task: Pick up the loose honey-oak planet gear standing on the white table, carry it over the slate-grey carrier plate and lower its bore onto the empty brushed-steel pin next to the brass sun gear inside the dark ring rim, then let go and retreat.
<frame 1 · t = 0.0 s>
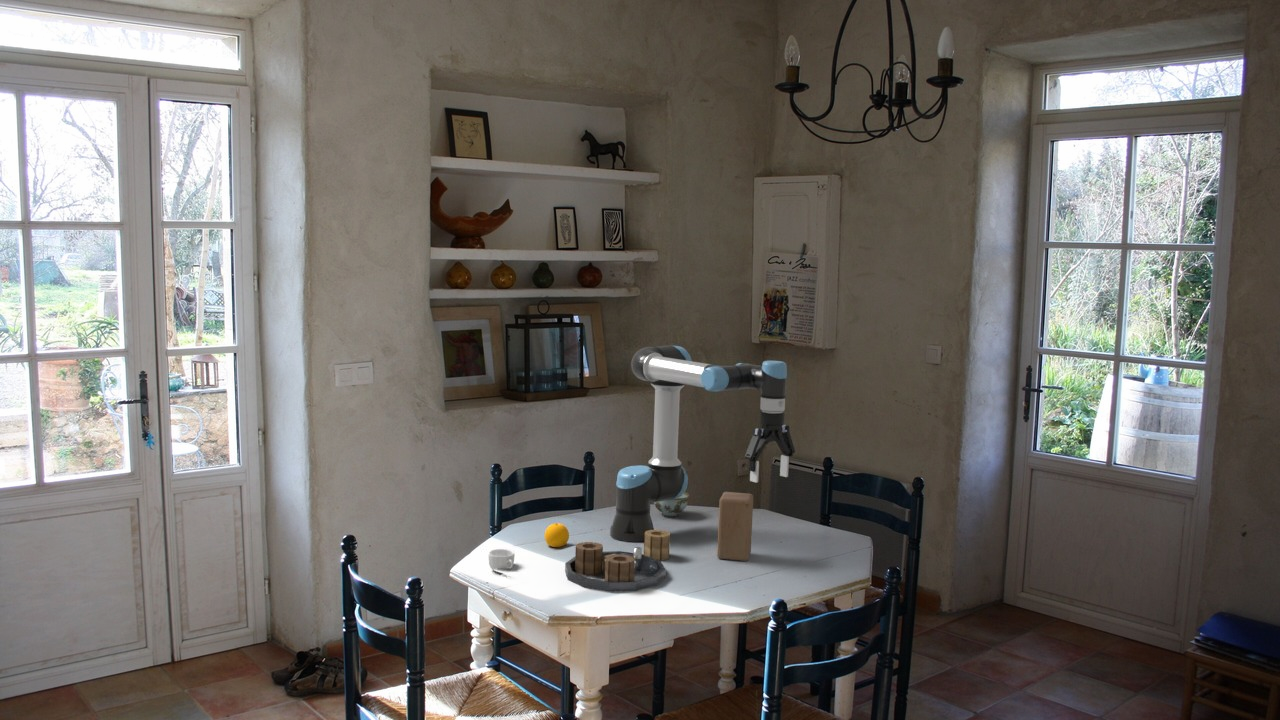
hand: (769, 479, 305), 28 cm above the table, fingers open, 13 cm apart
wooden block: (734, 556, 318), on the table
orange: (556, 546, 323), on the table
planet gear: (656, 556, 315), on the table
carrier: (614, 579, 291), on the table
teacup: (503, 571, 296), on the table
seated gear b: (619, 584, 283), resting on carrier
bowl: (670, 515, 365), on the table
seated gear a: (588, 570, 294), resting on carrier
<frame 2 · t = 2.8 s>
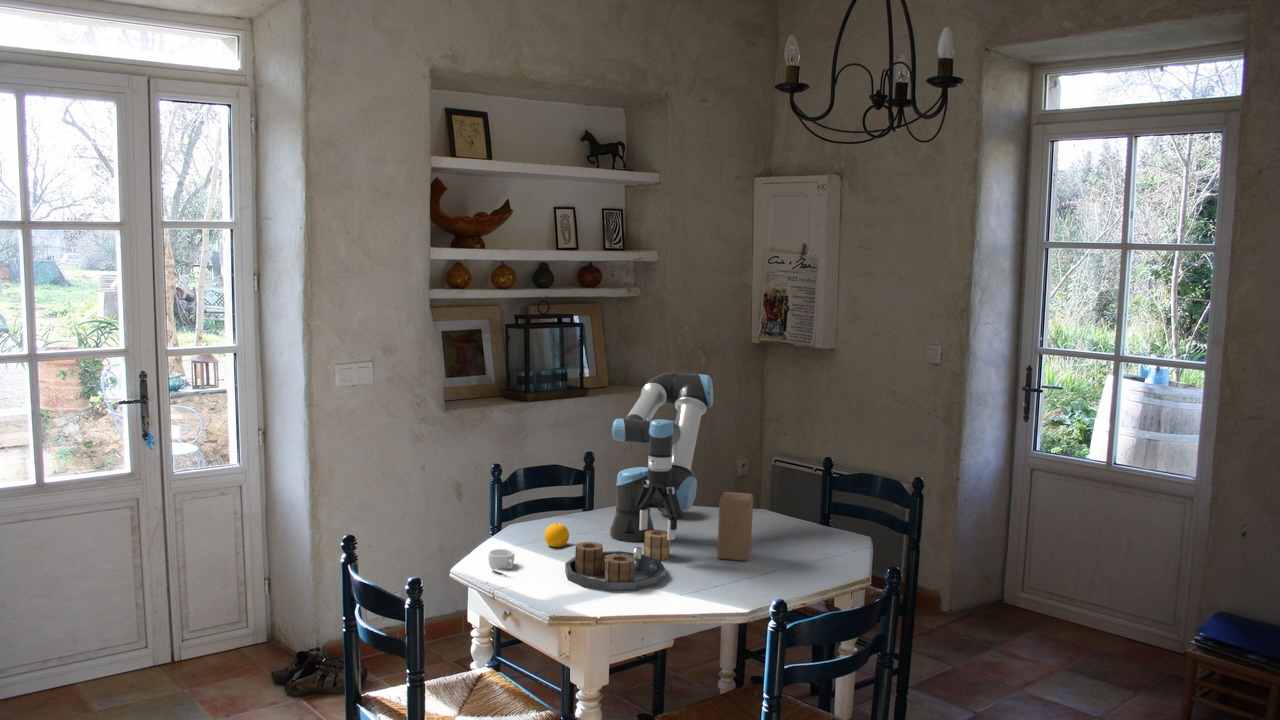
hand: (657, 534, 314), 7 cm above the table, fingers open, 13 cm apart
nothing on the table moved.
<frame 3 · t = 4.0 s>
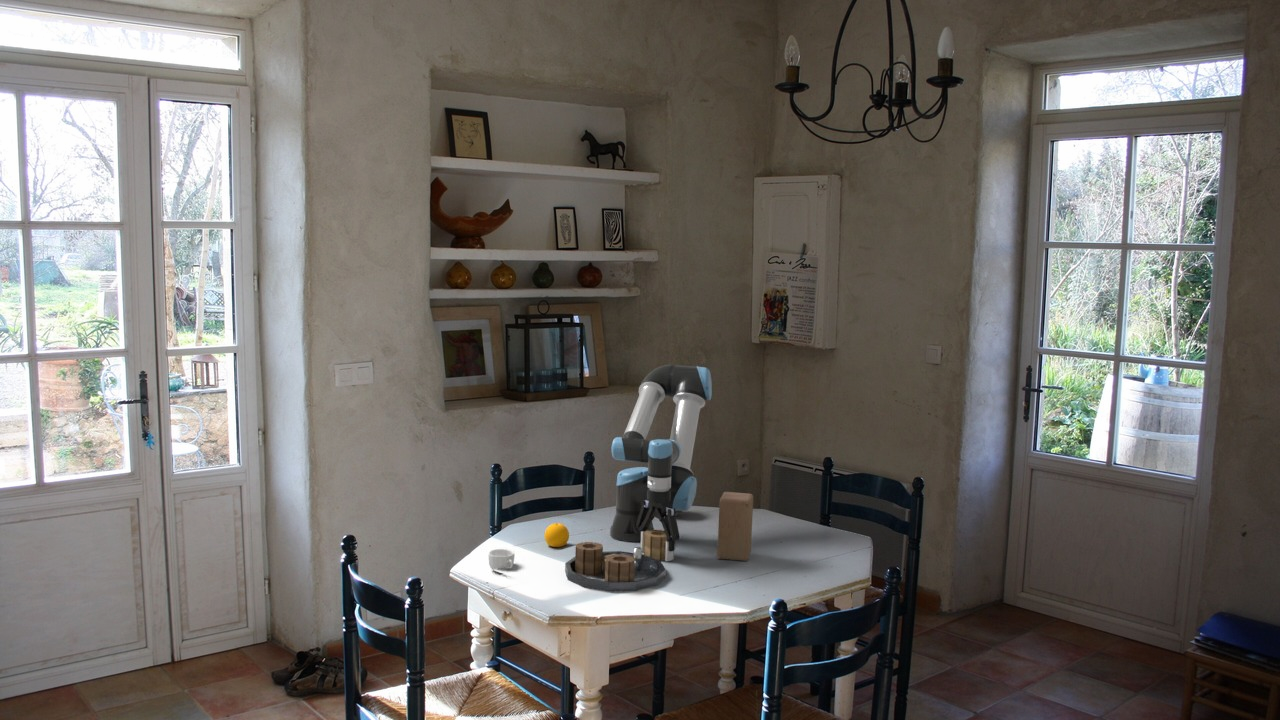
hand: (656, 555, 315), 0 cm above the table, fingers open, 11 cm apart
nothing on the table moved.
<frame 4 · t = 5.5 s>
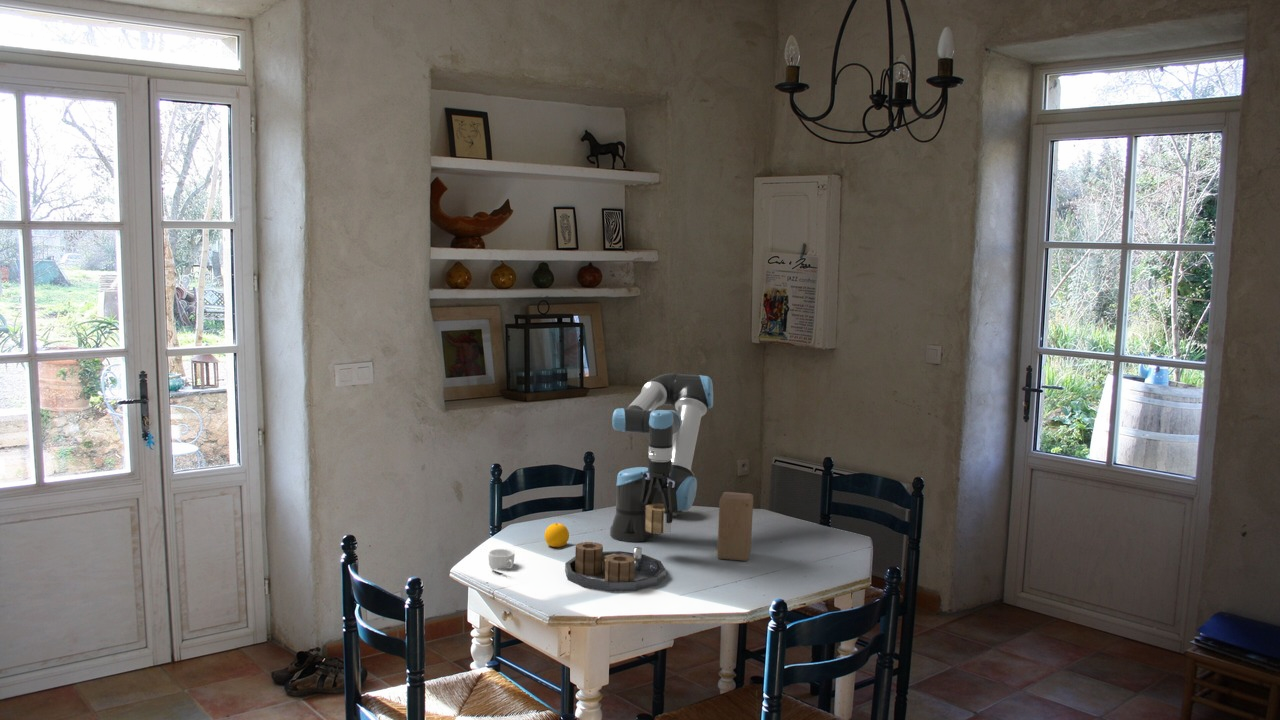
hand: (657, 528, 315), 9 cm above the table, fingers closed on planet gear, 8 cm apart
planet gear: (657, 529, 315), point 8 cm above the table, touching gripper
everything else where it was.
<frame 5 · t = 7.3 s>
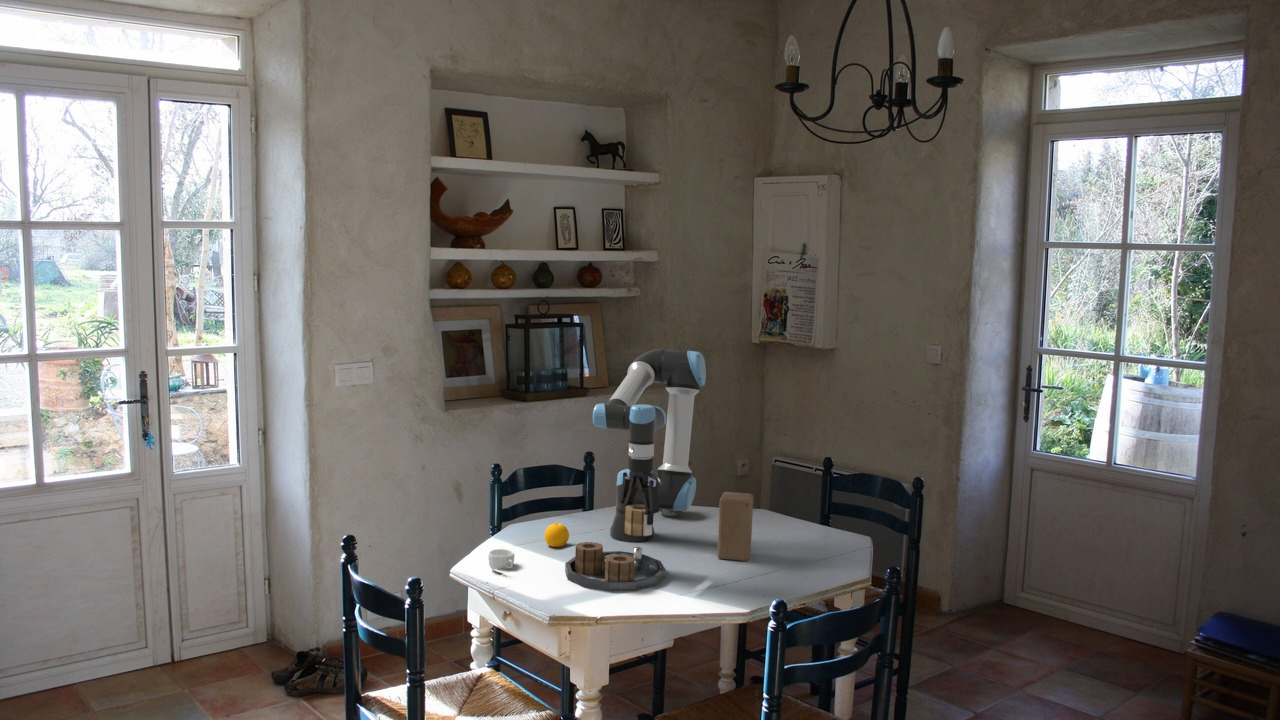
hand: (638, 531, 295), 13 cm above the table, fingers closed on planet gear, 8 cm apart
planet gear: (638, 532, 295), point 13 cm above the table, touching gripper
everything else where it was.
when the fingers open (3 cm above the table, at t = 9.6 s): planet gear stays where it is, resting on carrier.
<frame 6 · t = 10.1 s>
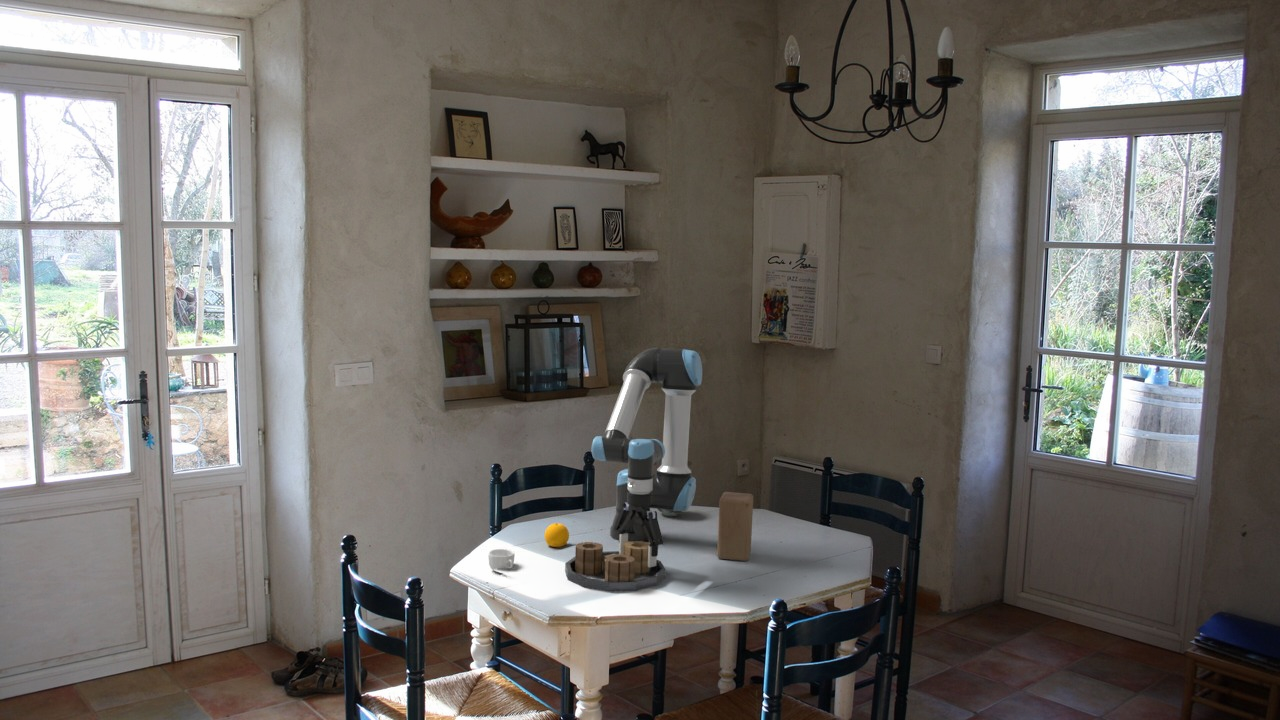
hand: (637, 560, 296), 4 cm above the table, fingers open, 13 cm apart
planet gear: (637, 569, 297), point 1 cm above the table, touching carrier
everything else where it was.
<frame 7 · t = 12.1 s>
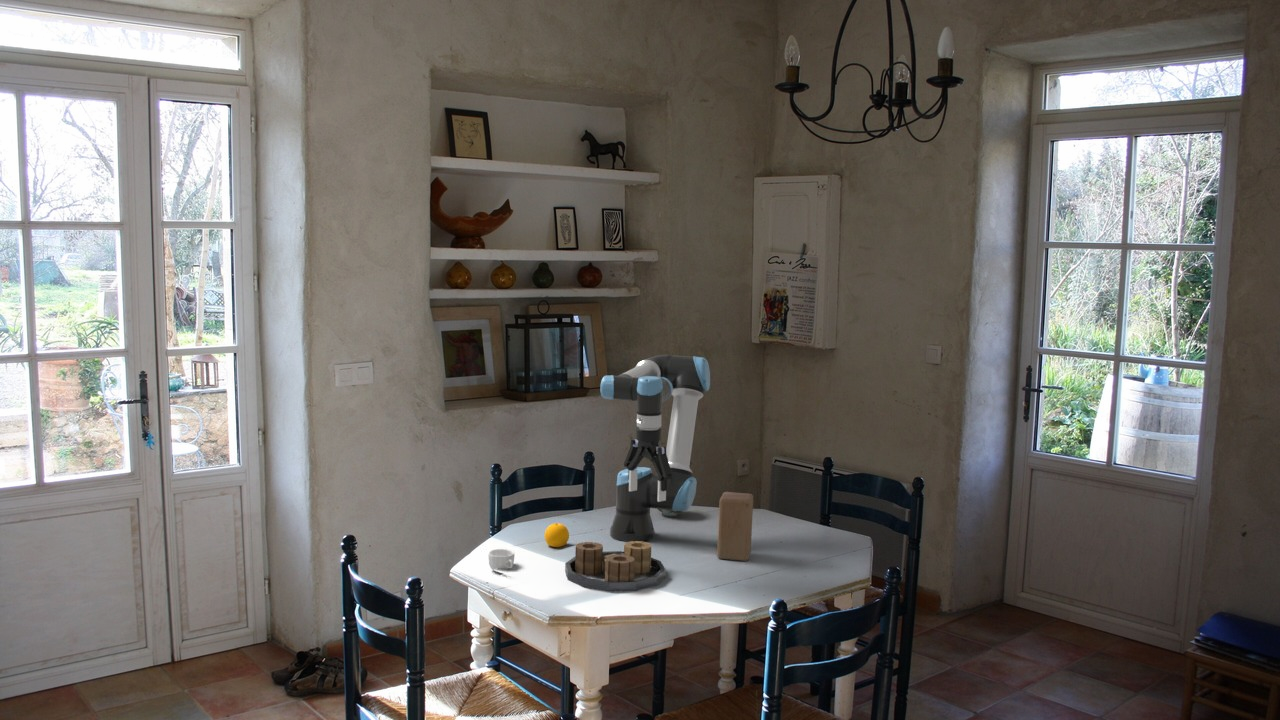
hand: (647, 495, 301), 22 cm above the table, fingers open, 13 cm apart
nothing on the table moved.
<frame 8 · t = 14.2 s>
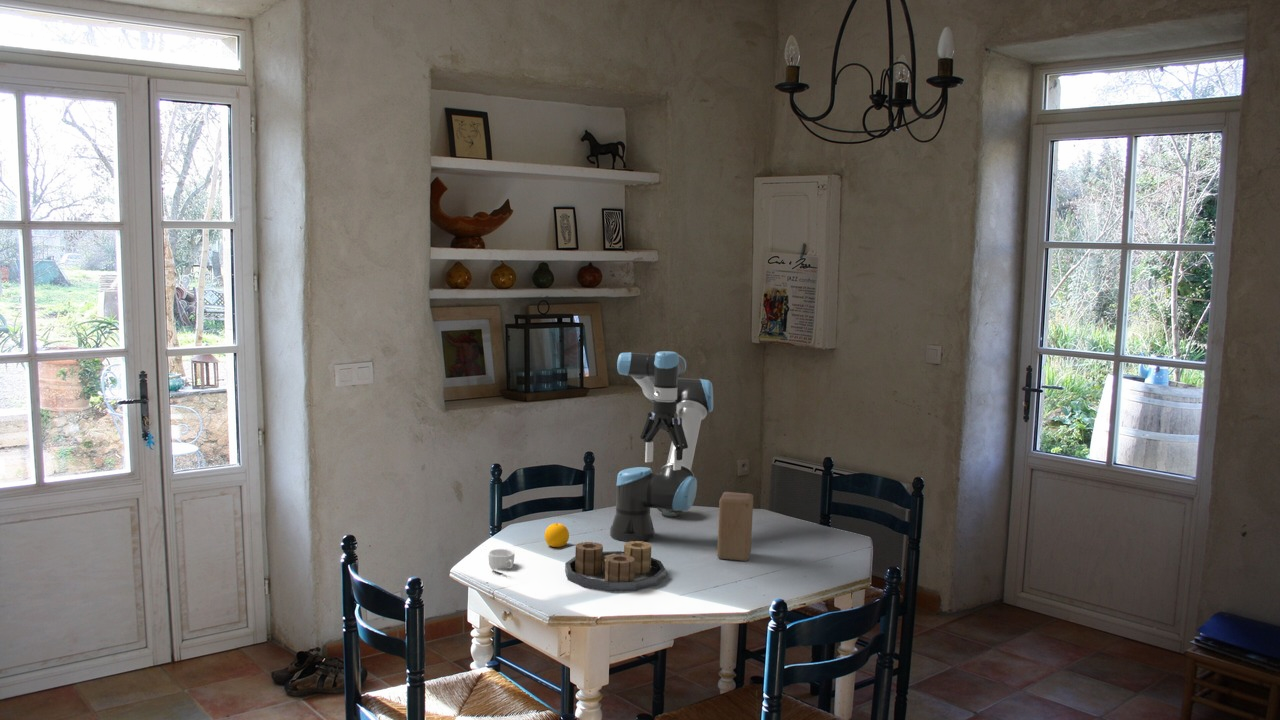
hand: (662, 465, 315), 29 cm above the table, fingers open, 13 cm apart
nothing on the table moved.
at the end: planet gear 0.0 cm from the target spot on the carrier, point 1.5 cm above the carrier's base; planet gear tilted 0°; the gripper is holding nothing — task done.
